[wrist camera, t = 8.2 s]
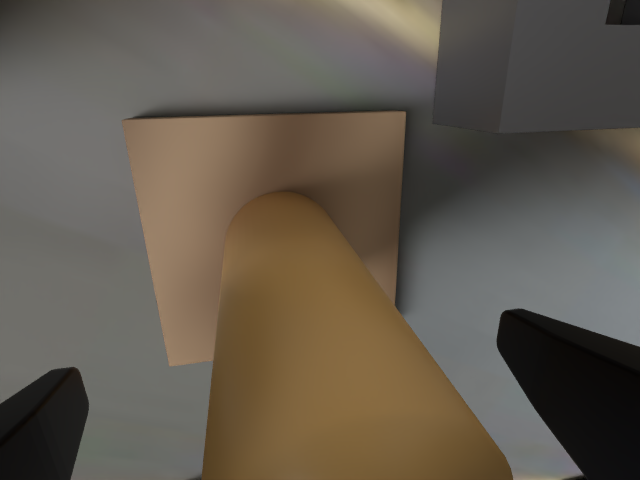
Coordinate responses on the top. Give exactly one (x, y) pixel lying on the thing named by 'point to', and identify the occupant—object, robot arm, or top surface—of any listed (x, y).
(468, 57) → the socket block
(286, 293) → the amber plug
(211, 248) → the tan square tile
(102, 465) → the top surface
